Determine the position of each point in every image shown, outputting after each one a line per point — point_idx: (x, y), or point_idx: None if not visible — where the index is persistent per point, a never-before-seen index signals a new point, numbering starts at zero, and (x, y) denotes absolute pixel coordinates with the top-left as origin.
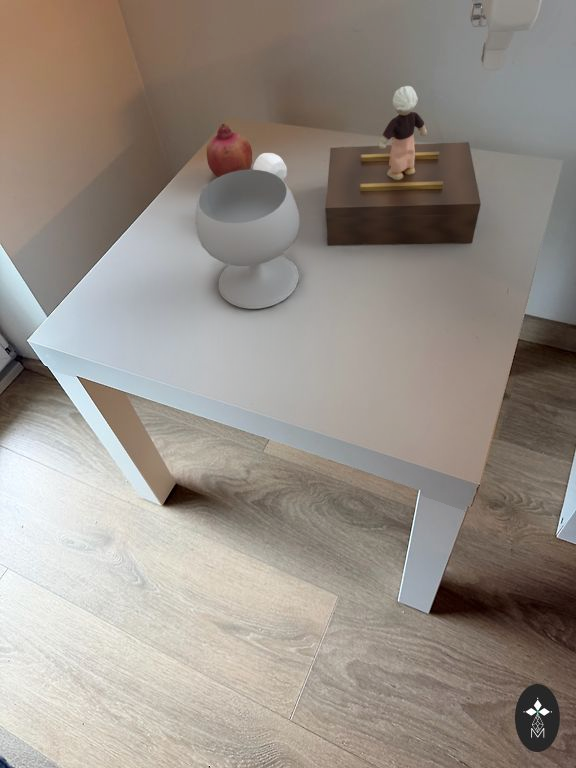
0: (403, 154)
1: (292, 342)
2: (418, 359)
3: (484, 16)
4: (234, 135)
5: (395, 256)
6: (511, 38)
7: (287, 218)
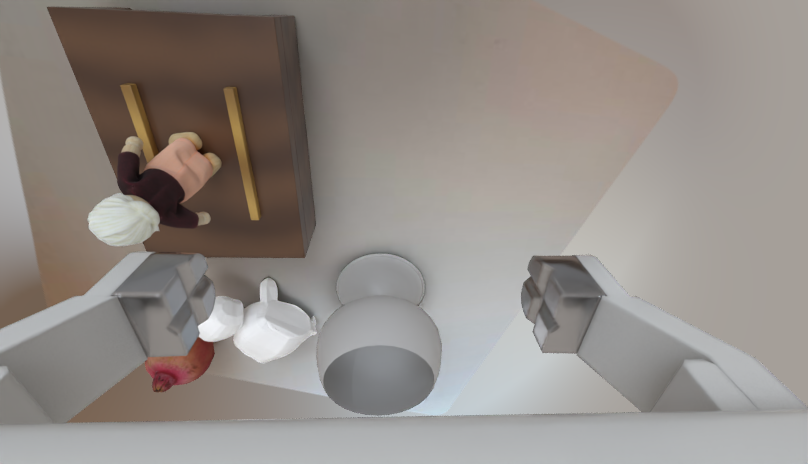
0: (190, 170)
1: (472, 251)
2: (519, 124)
3: (185, 288)
4: (161, 368)
5: (333, 141)
6: (705, 333)
7: (407, 329)
